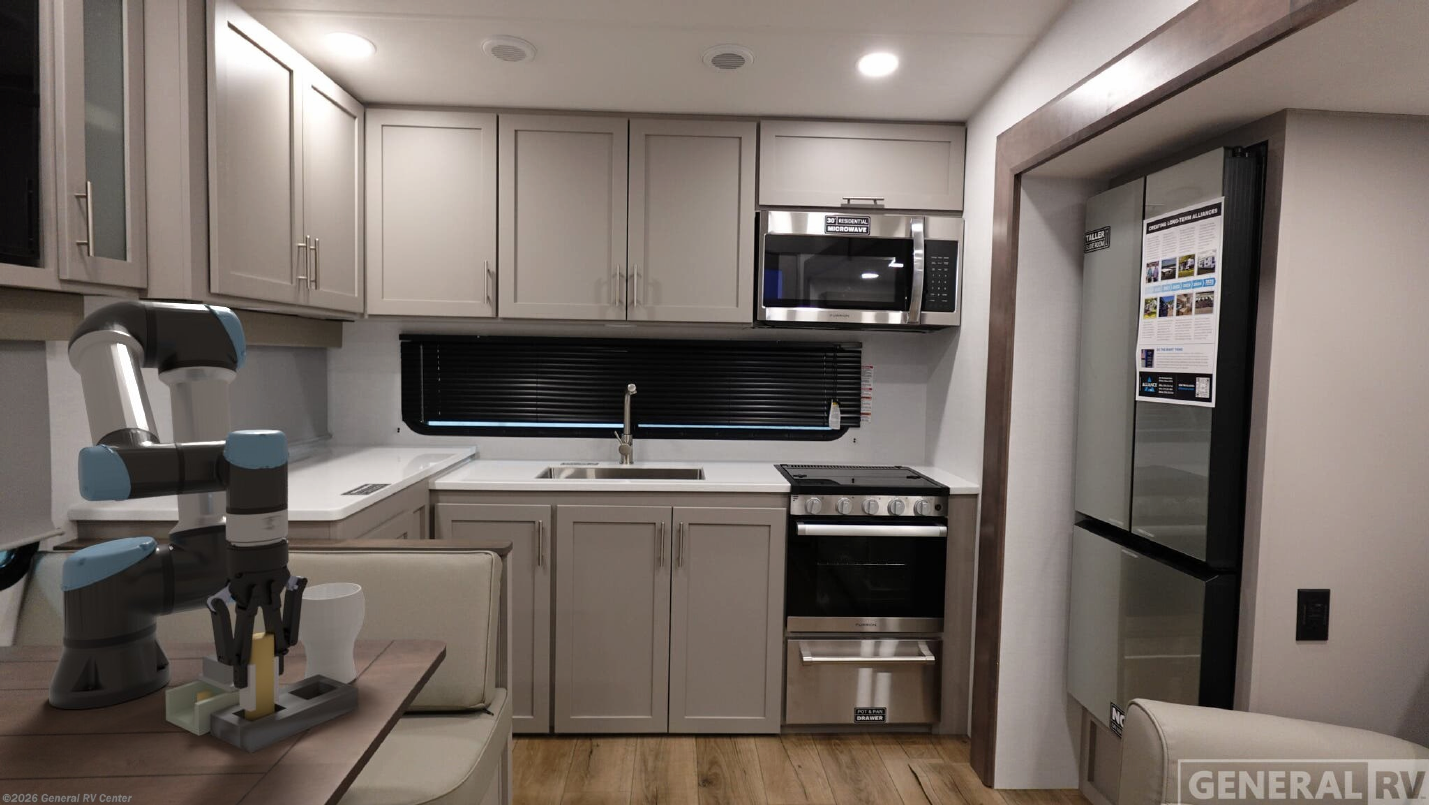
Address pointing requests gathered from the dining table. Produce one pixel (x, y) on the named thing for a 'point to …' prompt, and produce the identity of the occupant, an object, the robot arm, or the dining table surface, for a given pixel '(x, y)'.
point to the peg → (263, 675)
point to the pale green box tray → (197, 705)
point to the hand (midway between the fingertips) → (259, 703)
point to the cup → (331, 629)
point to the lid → (217, 673)
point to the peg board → (286, 713)
